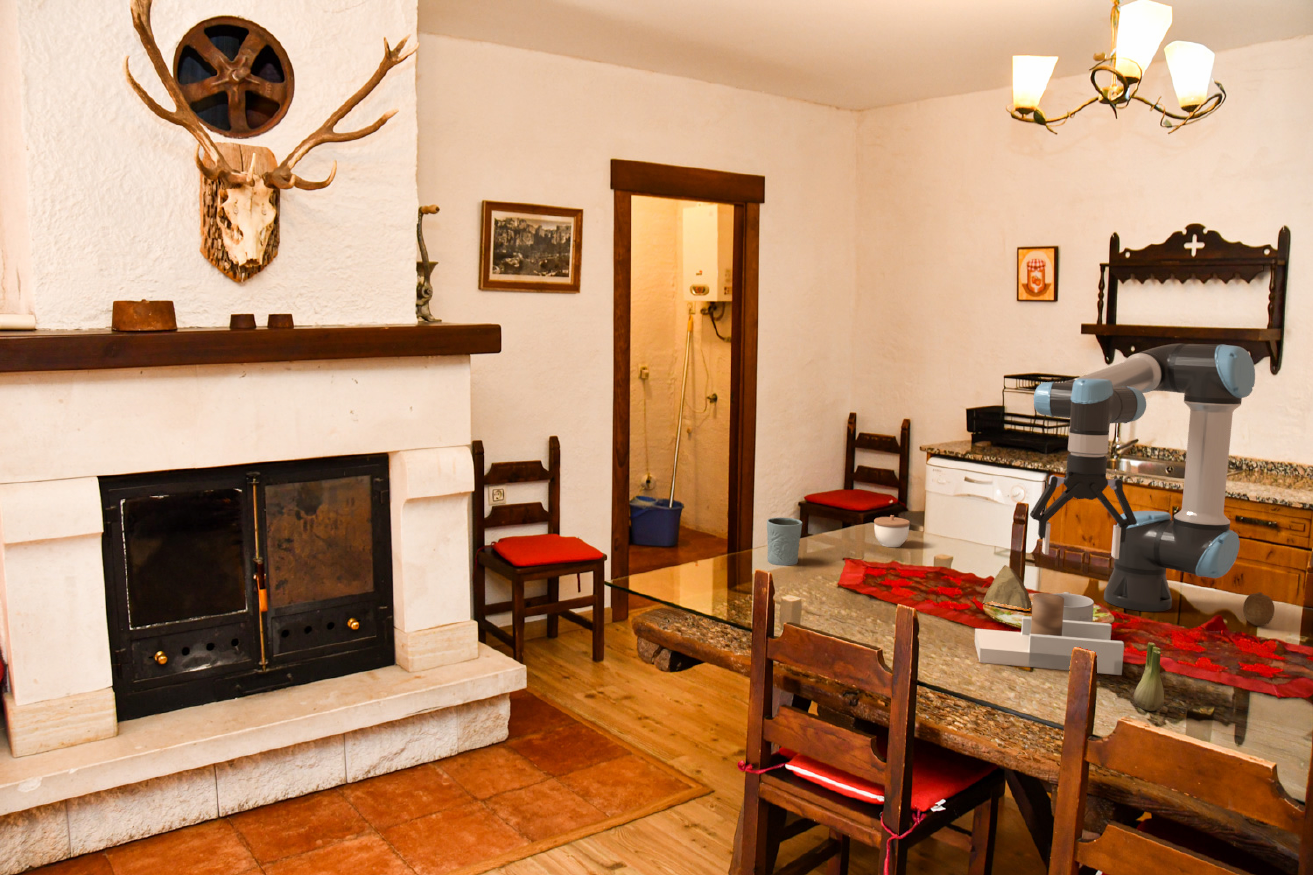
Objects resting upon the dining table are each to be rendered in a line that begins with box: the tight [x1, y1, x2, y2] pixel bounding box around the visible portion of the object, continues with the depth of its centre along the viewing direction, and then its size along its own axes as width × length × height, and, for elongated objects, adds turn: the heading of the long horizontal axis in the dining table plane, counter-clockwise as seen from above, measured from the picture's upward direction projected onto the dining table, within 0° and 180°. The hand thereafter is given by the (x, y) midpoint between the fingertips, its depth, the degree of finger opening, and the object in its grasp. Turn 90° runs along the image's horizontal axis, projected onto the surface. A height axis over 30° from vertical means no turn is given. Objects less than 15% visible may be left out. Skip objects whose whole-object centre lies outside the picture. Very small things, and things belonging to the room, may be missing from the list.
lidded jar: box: [873, 514, 911, 548], centre depth 300 cm, size 11×11×9 cm
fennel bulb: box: [1133, 642, 1165, 712], centre depth 177 cm, size 6×5×12 cm
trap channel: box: [974, 616, 1125, 676], centre depth 202 cm, size 27×13×6 cm, turn 76°
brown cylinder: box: [1031, 592, 1064, 636], centre depth 202 cm, size 6×6×10 cm
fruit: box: [1242, 592, 1275, 627], centre depth 225 cm, size 6×6×8 cm
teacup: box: [1053, 591, 1095, 622], centre depth 220 cm, size 14×11×8 cm
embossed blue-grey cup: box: [766, 516, 803, 567], centre depth 278 cm, size 10×10×12 cm
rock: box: [982, 564, 1032, 609], centre depth 237 cm, size 11×9×10 cm
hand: (1079, 555), depth 202 cm, fingers open, 13 cm apart
